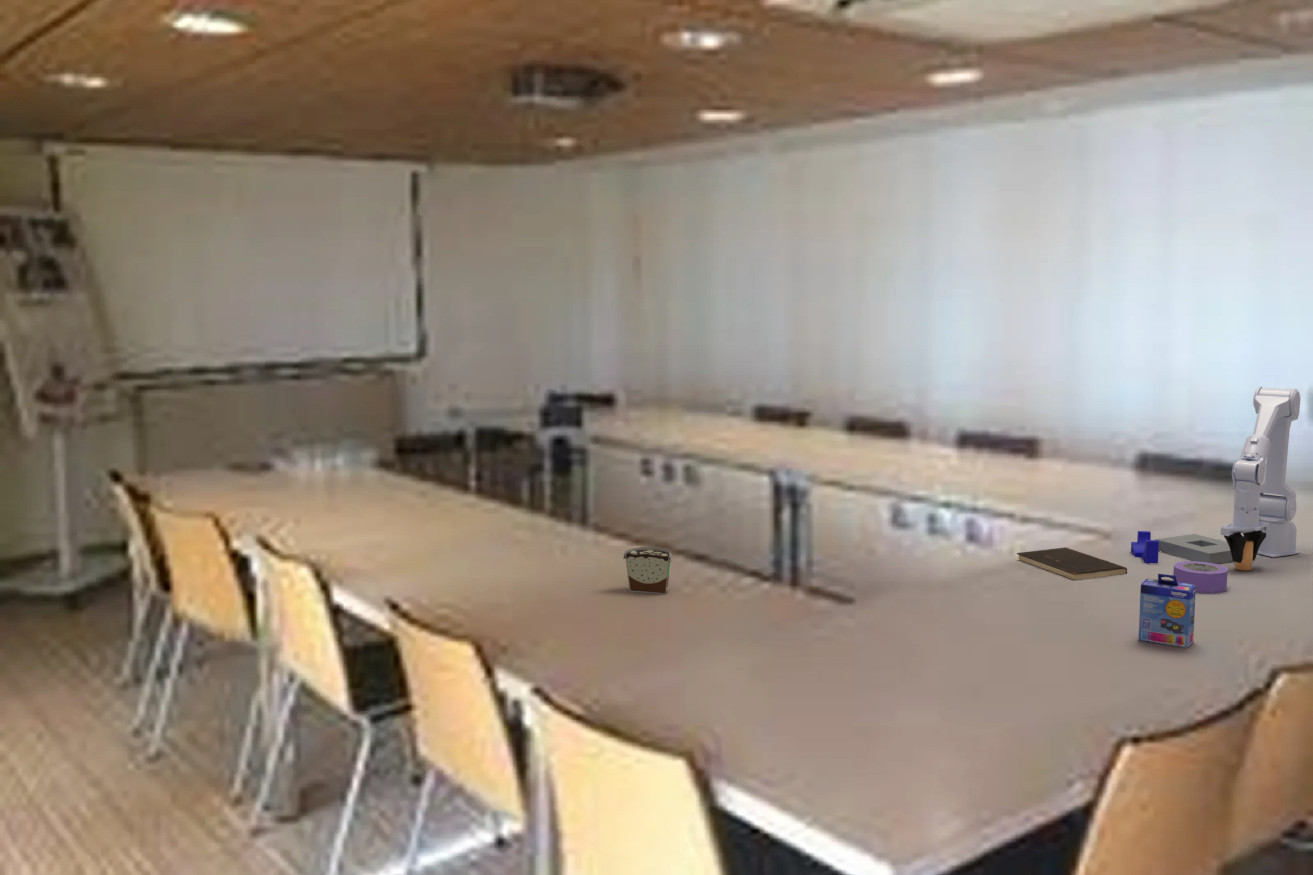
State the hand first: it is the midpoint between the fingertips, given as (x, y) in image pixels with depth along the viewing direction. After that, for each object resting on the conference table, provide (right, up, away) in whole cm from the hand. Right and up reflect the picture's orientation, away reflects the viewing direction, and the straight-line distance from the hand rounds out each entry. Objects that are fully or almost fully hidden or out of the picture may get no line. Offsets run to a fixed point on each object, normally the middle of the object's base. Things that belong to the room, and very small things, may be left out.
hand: (1243, 560), depth 306 cm
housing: (-3, 0, +16) cm, 16 cm away
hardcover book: (-41, -3, +6) cm, 42 cm away
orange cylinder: (0, -2, 0) cm, 2 cm away
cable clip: (-19, -1, +14) cm, 24 cm away
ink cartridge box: (-43, -11, -55) cm, 70 cm away
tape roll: (-18, -5, -14) cm, 23 cm away
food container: (-148, -6, -9) cm, 149 cm away
